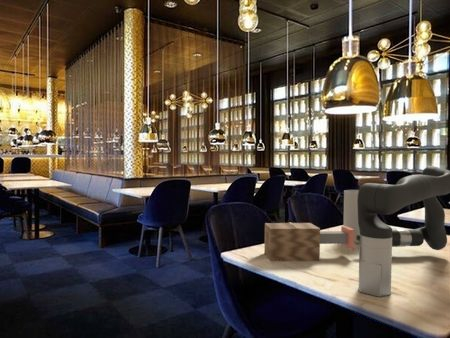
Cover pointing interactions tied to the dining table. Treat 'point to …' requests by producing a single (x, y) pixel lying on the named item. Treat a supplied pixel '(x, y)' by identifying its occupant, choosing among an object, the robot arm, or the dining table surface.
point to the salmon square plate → (338, 237)
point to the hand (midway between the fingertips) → (357, 237)
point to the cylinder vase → (351, 212)
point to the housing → (292, 242)
